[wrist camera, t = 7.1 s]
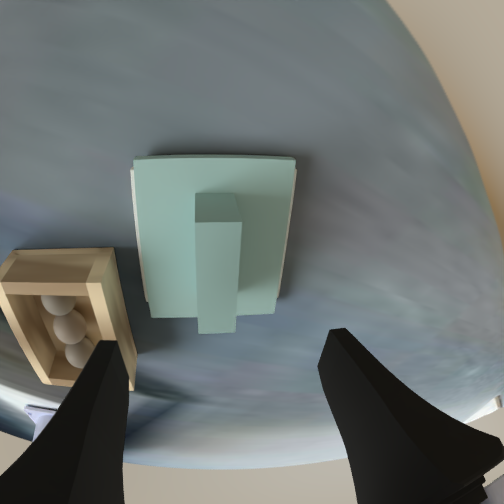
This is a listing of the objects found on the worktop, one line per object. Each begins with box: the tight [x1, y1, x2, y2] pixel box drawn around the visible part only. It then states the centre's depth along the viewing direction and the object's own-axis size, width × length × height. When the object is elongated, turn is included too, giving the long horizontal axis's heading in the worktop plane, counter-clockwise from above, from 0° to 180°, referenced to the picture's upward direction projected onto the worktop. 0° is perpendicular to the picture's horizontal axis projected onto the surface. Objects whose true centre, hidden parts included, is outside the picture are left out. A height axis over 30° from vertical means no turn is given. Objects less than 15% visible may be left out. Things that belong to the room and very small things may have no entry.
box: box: [0, 247, 137, 391], centre depth 17 cm, size 9×7×3 cm
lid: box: [133, 155, 296, 334], centre depth 15 cm, size 9×7×4 cm
